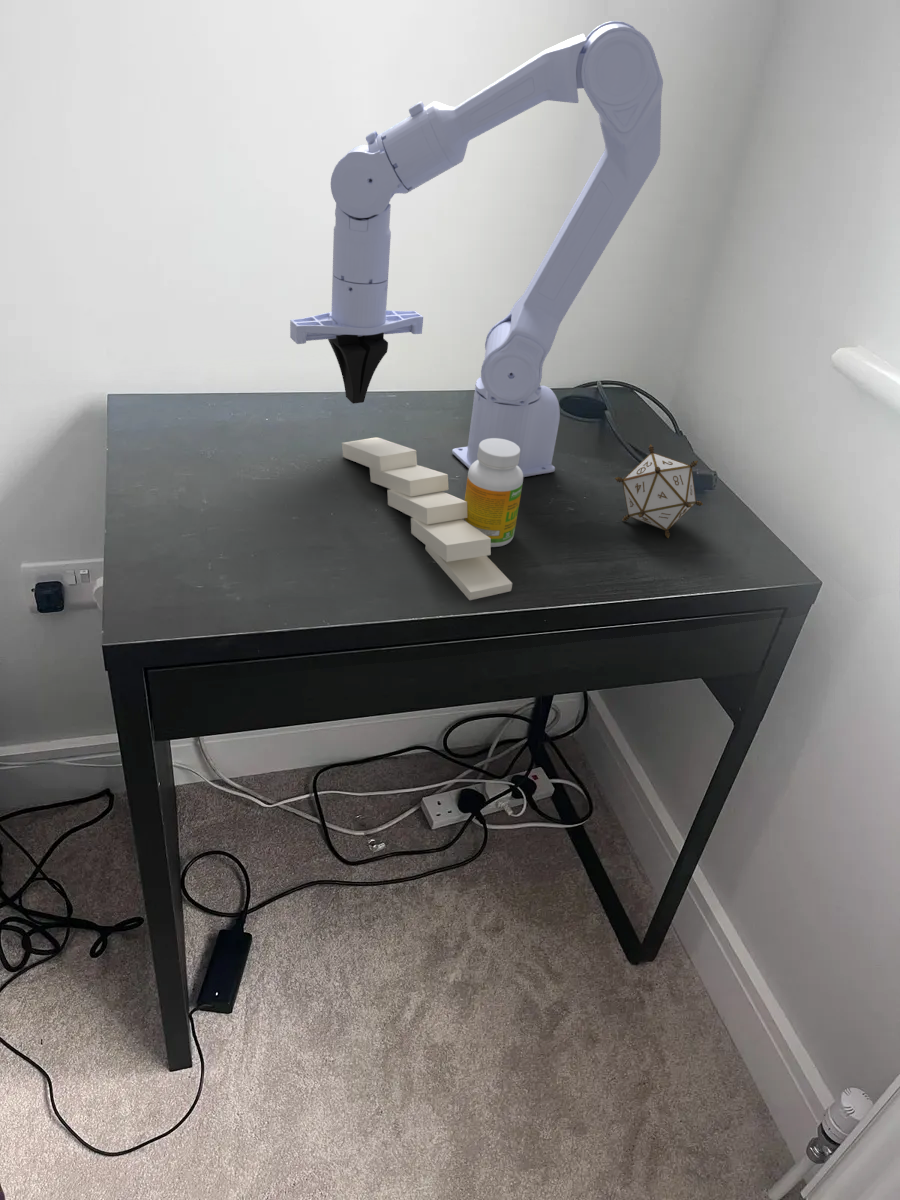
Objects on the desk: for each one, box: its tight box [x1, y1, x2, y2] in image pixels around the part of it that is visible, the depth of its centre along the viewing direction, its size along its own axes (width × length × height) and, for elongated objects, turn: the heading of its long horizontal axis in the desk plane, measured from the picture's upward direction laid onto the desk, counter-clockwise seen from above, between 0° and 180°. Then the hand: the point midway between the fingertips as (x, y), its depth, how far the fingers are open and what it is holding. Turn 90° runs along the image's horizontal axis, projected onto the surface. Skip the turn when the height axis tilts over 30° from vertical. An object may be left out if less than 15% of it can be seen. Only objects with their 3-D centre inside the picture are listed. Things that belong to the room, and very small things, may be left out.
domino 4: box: [410, 517, 492, 562], centre depth 87 cm, size 4×2×9 cm
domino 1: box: [341, 436, 418, 472], centre depth 100 cm, size 4×2×9 cm
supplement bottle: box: [463, 438, 524, 548], centre depth 89 cm, size 5×5×10 cm
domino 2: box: [369, 464, 450, 497], centre depth 96 cm, size 4×2×9 cm
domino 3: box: [387, 489, 468, 525], centre depth 92 cm, size 4×2×9 cm
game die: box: [614, 443, 704, 539], centre depth 95 cm, size 9×8×10 cm
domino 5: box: [424, 545, 513, 601], centre depth 87 cm, size 4×2×9 cm
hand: (354, 399), depth 102 cm, fingers closed
